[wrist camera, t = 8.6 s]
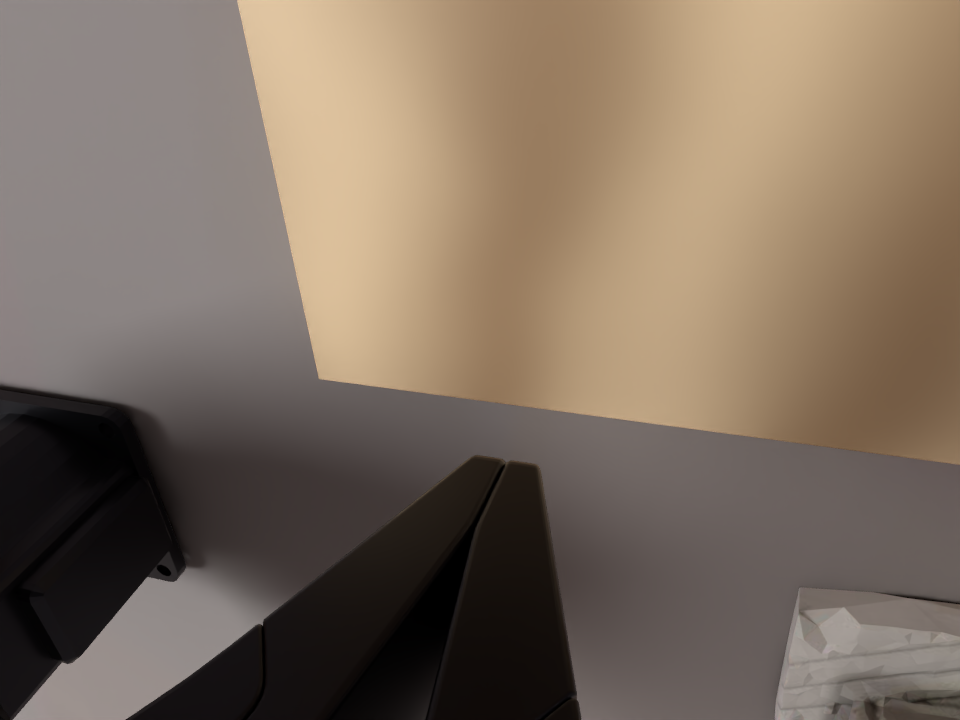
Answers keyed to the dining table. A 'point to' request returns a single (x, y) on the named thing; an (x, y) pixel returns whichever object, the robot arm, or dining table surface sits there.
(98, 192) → the dining table surface
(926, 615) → the packaged product
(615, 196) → the oak plank
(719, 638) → the dining table surface
